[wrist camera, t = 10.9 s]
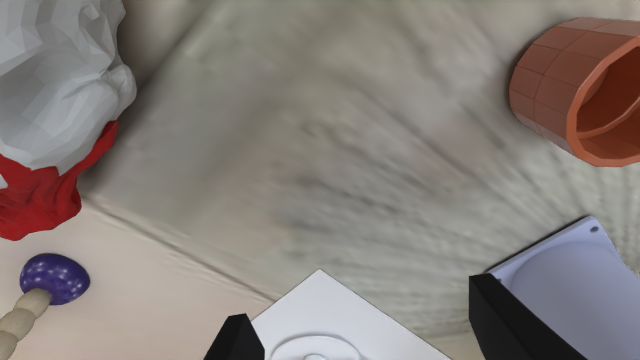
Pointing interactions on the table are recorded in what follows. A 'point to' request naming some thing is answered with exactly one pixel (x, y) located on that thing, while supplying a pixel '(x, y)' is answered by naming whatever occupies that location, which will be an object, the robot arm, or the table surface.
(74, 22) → the white lump red frill
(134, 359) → the table surface
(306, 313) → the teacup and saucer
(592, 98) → the pot
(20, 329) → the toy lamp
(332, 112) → the table surface
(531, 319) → the robot arm
